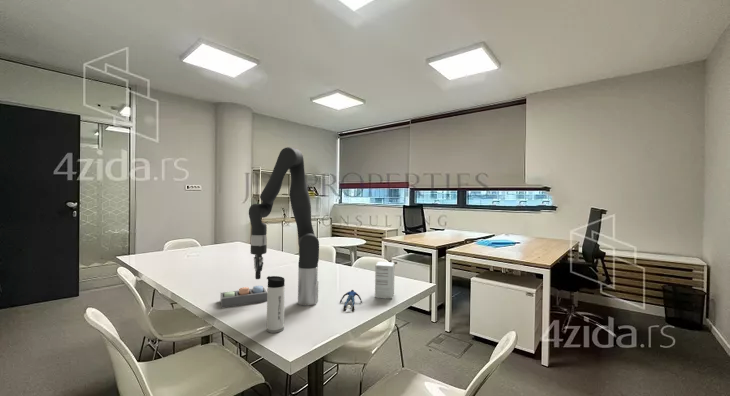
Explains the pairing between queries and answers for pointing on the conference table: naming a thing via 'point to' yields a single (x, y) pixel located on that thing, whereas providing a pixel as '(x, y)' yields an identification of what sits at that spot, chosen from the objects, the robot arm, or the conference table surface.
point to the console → (243, 298)
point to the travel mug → (275, 304)
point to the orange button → (243, 291)
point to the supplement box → (384, 279)
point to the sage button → (229, 294)
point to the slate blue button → (257, 289)
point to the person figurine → (350, 297)
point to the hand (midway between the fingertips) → (257, 278)
